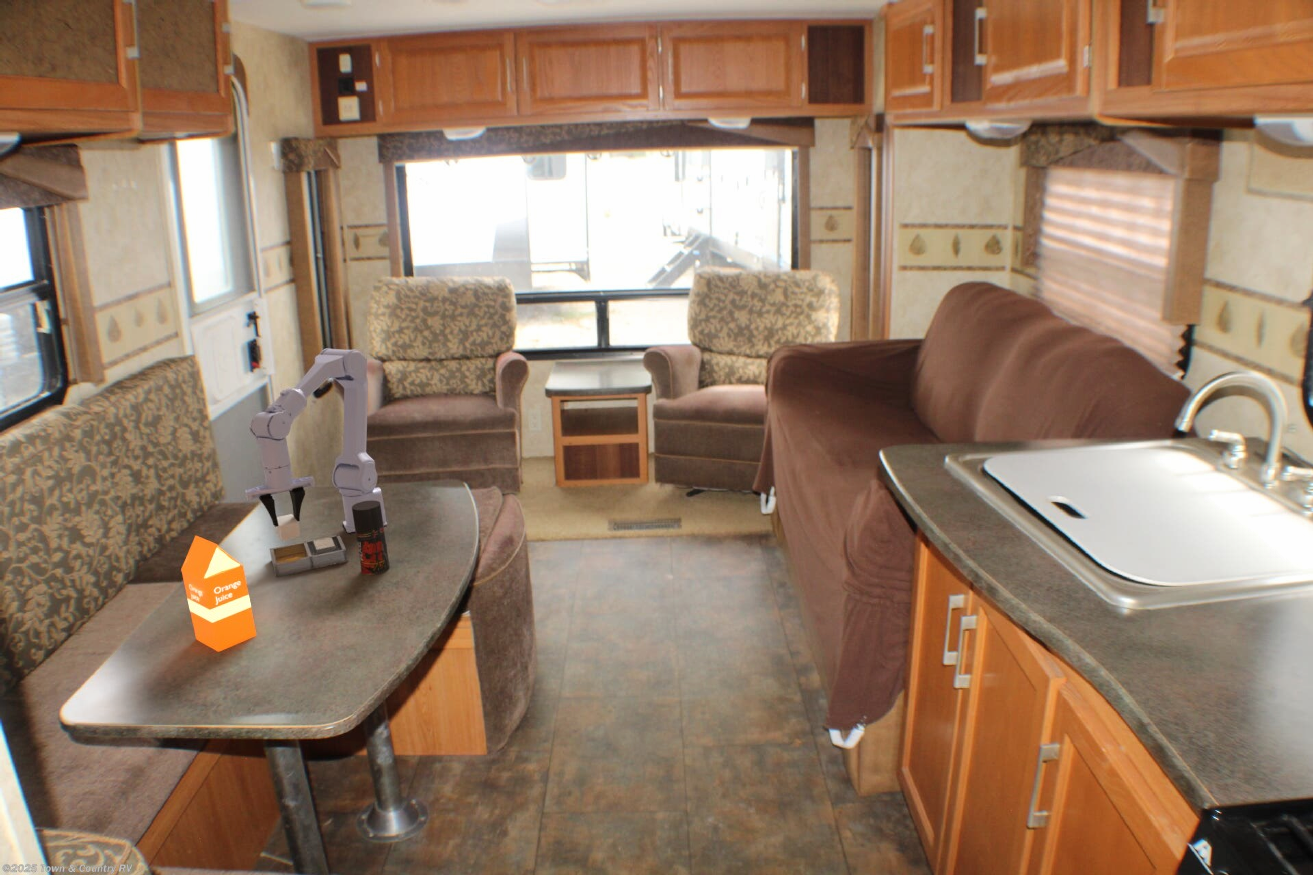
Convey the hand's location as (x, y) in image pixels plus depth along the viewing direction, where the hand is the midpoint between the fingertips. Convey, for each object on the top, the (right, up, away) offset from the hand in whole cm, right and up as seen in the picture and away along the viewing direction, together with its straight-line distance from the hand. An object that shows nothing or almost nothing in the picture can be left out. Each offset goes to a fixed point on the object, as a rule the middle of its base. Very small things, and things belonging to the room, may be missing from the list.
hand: (286, 522), depth 213 cm
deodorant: (+22, -10, -5) cm, 24 cm away
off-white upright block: (0, -3, +1) cm, 3 cm away
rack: (+5, -9, +1) cm, 10 cm away
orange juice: (+1, -19, -33) cm, 38 cm away
